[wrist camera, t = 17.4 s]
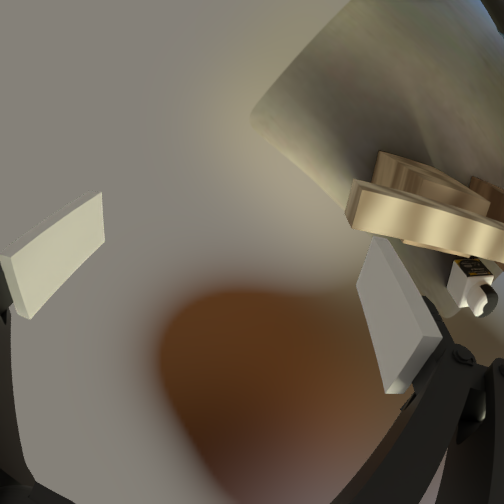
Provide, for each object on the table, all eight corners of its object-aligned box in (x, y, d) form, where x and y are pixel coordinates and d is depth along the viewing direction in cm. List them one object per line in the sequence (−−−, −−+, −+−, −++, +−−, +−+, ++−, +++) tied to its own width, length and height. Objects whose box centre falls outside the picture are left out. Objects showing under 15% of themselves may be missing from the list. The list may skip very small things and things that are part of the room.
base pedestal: (367, 195, 49) (402, 243, 33) (378, 150, 45) (423, 179, 29) (421, 208, 48) (469, 258, 33) (433, 167, 45) (490, 202, 29)
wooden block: (344, 213, 32) (351, 228, 29) (353, 178, 30) (362, 189, 27) (506, 253, 32) (520, 267, 28) (516, 228, 30) (532, 241, 26)
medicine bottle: (478, 258, 51) (506, 289, 41) (470, 286, 55) (494, 320, 44) (453, 259, 52) (480, 292, 42) (445, 288, 56) (468, 324, 45)
